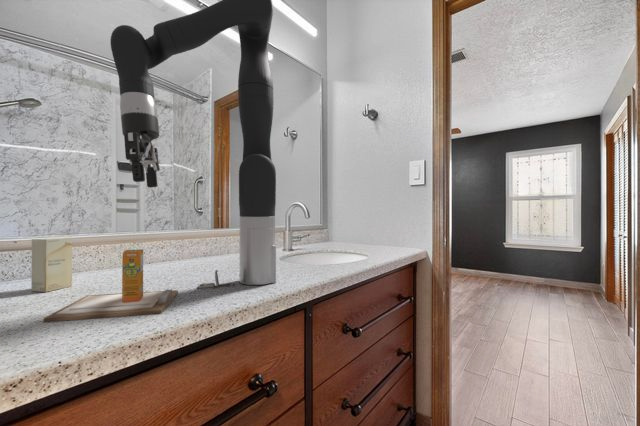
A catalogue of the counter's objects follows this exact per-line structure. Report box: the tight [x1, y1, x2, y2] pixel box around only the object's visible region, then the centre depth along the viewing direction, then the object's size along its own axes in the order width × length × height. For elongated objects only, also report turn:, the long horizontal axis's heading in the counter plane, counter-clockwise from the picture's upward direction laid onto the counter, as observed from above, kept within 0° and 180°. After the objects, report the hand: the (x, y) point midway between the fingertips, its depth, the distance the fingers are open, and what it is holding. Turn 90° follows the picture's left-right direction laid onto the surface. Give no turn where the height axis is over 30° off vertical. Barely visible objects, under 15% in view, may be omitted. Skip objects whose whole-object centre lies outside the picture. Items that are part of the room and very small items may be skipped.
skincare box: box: [31, 237, 73, 293], centre depth 71 cm, size 6×4×12 cm
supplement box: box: [121, 249, 144, 303], centre depth 60 cm, size 3×4×10 cm
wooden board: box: [43, 289, 179, 323], centre depth 59 cm, size 18×14×2 cm
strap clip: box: [197, 269, 235, 290], centre depth 74 cm, size 8×3×4 cm, turn 107°
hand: (146, 184), depth 70 cm, fingers open, 8 cm apart
